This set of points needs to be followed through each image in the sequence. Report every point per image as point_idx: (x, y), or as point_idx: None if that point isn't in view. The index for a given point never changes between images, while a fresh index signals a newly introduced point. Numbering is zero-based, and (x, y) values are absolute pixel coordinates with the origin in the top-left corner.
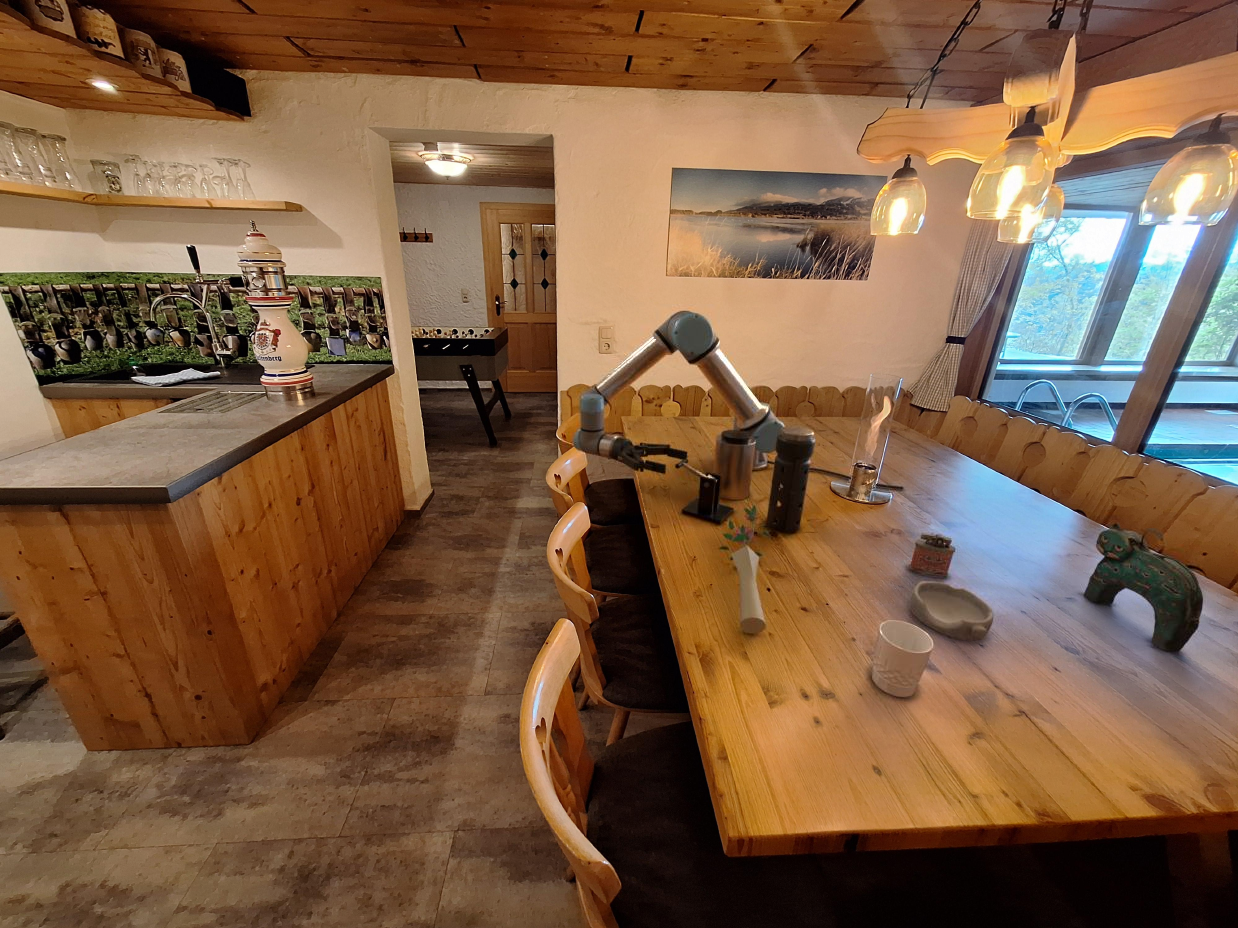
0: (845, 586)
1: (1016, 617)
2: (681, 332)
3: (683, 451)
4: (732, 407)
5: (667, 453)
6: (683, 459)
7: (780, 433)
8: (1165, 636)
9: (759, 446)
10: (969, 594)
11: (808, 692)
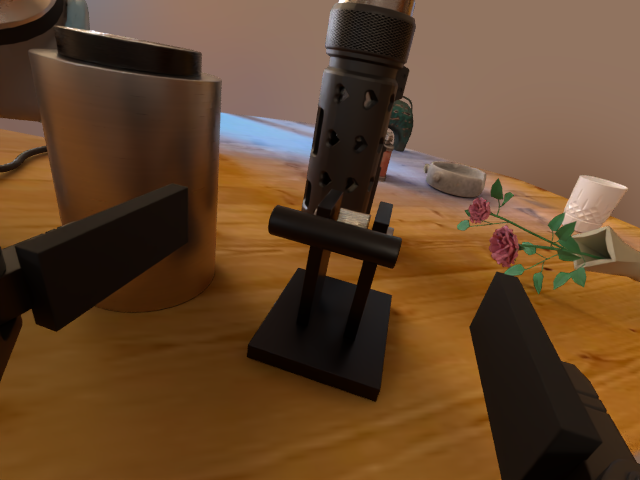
0: (459, 216)
1: (414, 169)
2: None
3: (170, 193)
4: None
5: (54, 305)
6: (177, 245)
7: (369, 5)
8: (405, 142)
9: None
10: (436, 163)
11: None
